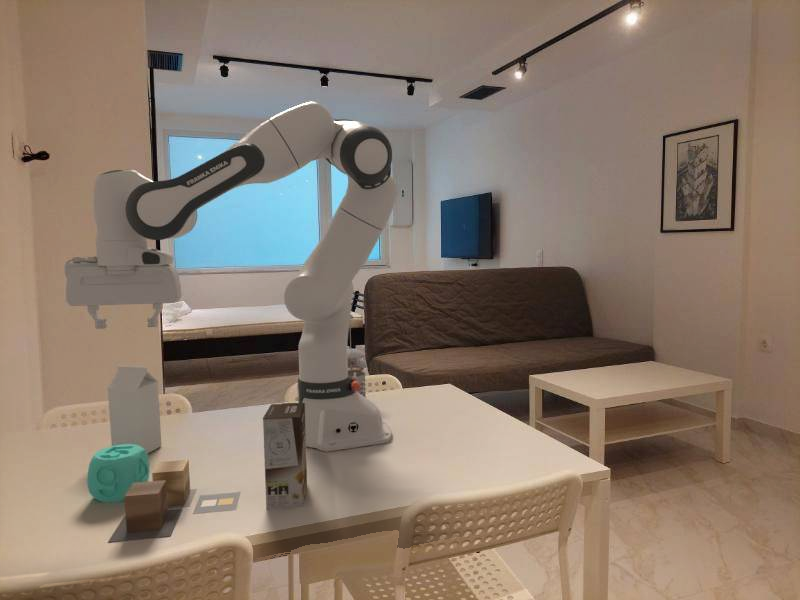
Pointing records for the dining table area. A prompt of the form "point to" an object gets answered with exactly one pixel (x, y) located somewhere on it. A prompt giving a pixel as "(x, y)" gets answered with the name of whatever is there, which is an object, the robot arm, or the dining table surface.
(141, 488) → the walnut block
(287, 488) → the coffee box
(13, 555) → the dining table surface
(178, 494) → the oak block
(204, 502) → the code tile
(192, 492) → the code tile
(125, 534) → the felt pad
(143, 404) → the milk carton
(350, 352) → the french press
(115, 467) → the decorative dice
